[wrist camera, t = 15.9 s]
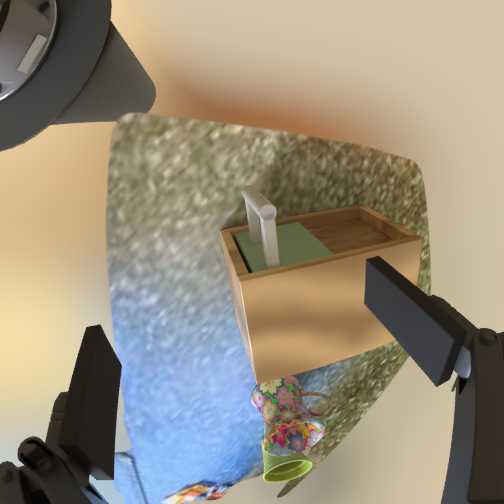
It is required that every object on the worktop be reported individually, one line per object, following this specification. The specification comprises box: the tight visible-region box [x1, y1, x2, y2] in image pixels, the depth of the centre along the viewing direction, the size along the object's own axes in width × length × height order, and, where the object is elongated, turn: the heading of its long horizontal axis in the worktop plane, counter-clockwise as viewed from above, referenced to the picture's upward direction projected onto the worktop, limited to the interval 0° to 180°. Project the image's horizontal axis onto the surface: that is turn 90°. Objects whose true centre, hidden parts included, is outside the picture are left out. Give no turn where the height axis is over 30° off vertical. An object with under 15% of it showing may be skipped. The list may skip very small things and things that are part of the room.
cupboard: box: [220, 204, 423, 384], centre depth 34 cm, size 12×18×12 cm
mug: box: [251, 376, 333, 456], centre depth 43 cm, size 12×9×11 cm
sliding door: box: [235, 185, 334, 273], centre depth 30 cm, size 6×7×10 cm
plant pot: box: [261, 438, 313, 483], centre depth 51 cm, size 9×9×9 cm
